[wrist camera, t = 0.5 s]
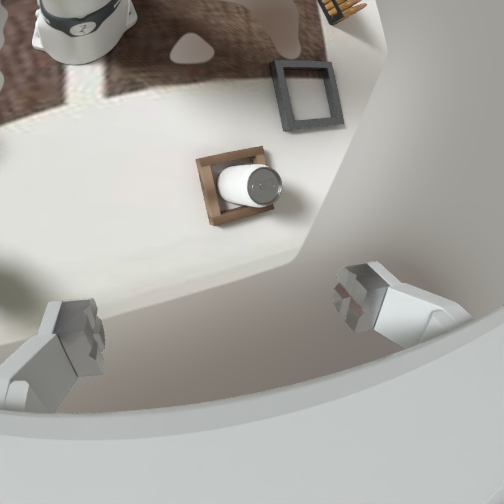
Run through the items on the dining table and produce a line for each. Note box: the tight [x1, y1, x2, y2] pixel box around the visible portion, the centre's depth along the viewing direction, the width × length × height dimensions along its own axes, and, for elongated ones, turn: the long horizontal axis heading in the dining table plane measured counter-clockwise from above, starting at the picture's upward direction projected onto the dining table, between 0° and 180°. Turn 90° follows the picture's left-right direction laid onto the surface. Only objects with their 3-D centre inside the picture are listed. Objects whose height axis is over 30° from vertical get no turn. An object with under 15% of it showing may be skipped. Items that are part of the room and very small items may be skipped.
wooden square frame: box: [196, 146, 274, 226], centre depth 54 cm, size 12×12×2 cm
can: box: [217, 164, 282, 207], centre depth 49 cm, size 6×6×12 cm
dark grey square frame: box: [269, 60, 344, 131], centre depth 56 cm, size 14×14×2 cm
